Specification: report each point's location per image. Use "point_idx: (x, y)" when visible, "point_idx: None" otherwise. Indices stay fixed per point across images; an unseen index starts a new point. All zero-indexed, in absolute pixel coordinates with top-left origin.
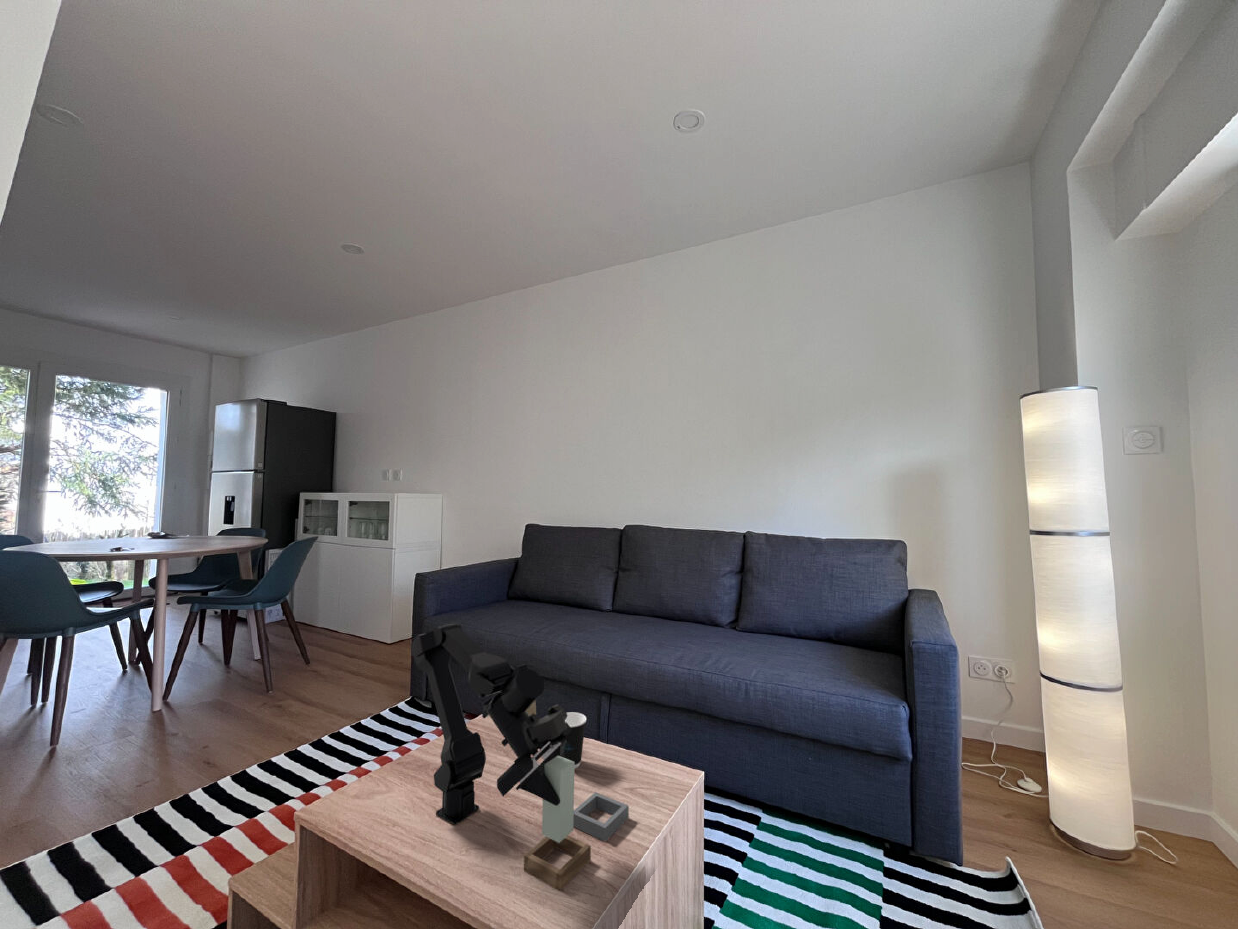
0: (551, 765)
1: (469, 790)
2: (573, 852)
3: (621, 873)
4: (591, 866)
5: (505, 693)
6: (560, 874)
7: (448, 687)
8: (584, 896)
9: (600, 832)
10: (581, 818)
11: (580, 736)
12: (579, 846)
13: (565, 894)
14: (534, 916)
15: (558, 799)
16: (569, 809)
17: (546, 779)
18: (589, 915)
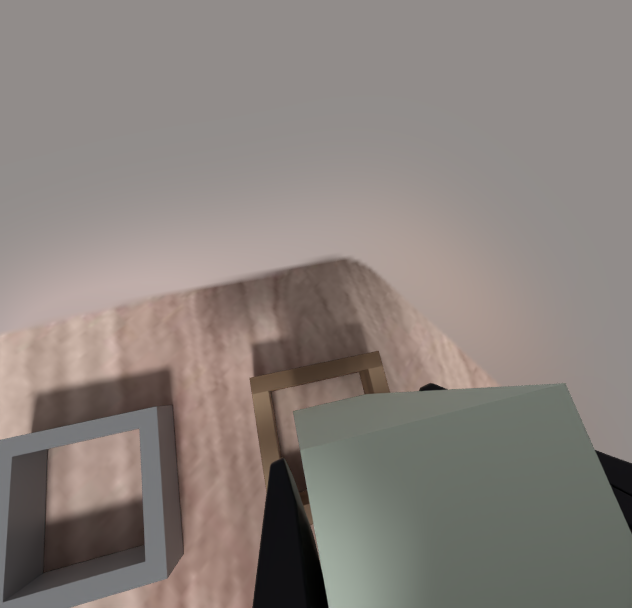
0: None
1: None
2: (275, 425)
3: (234, 296)
4: (266, 363)
5: None
6: (377, 353)
7: None
8: (338, 308)
9: (166, 424)
10: (165, 517)
11: None
12: (270, 404)
13: (365, 341)
14: (444, 343)
15: (441, 389)
16: (325, 408)
17: (613, 492)
18: (360, 269)
